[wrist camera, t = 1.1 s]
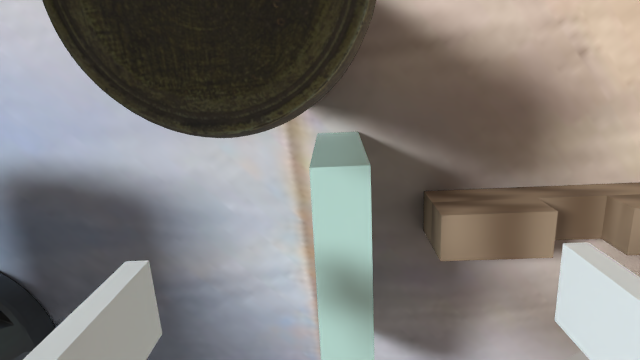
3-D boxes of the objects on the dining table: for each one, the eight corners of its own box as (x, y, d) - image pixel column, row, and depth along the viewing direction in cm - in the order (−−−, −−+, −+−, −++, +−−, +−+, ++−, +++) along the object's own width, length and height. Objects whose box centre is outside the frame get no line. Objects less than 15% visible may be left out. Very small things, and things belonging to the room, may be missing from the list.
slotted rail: (423, 230, 30) (440, 261, 25) (423, 191, 29) (441, 215, 24) (676, 221, 29) (744, 251, 24) (684, 180, 29) (755, 203, 24)
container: (378, 62, 27) (458, 53, 10) (258, 119, 28) (140, 203, 11) (320, -76, 25) (290, -399, 8) (193, -7, 26) (-76, -150, 9)
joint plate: (362, 309, 32) (375, 413, 22) (326, 310, 32) (324, 414, 23) (357, 131, 28) (370, 165, 19) (317, 133, 28) (309, 167, 19)
